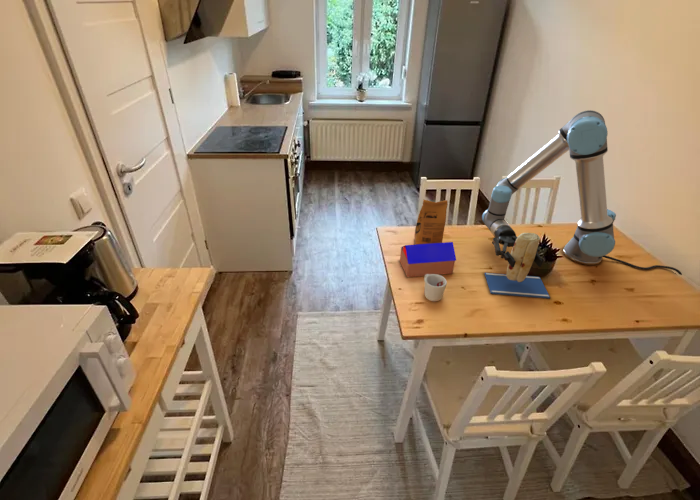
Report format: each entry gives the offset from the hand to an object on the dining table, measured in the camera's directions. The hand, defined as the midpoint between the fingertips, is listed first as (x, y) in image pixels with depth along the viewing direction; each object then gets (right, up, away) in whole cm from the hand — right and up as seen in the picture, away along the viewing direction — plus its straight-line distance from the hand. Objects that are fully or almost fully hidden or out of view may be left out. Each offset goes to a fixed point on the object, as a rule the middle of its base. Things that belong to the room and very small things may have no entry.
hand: (527, 264), depth 141 cm
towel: (0, -9, +11) cm, 14 cm away
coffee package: (-30, +8, +36) cm, 47 cm away
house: (-34, -2, +20) cm, 39 cm away
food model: (-1, -6, +9) cm, 11 cm away
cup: (-34, -12, +5) cm, 37 cm away
